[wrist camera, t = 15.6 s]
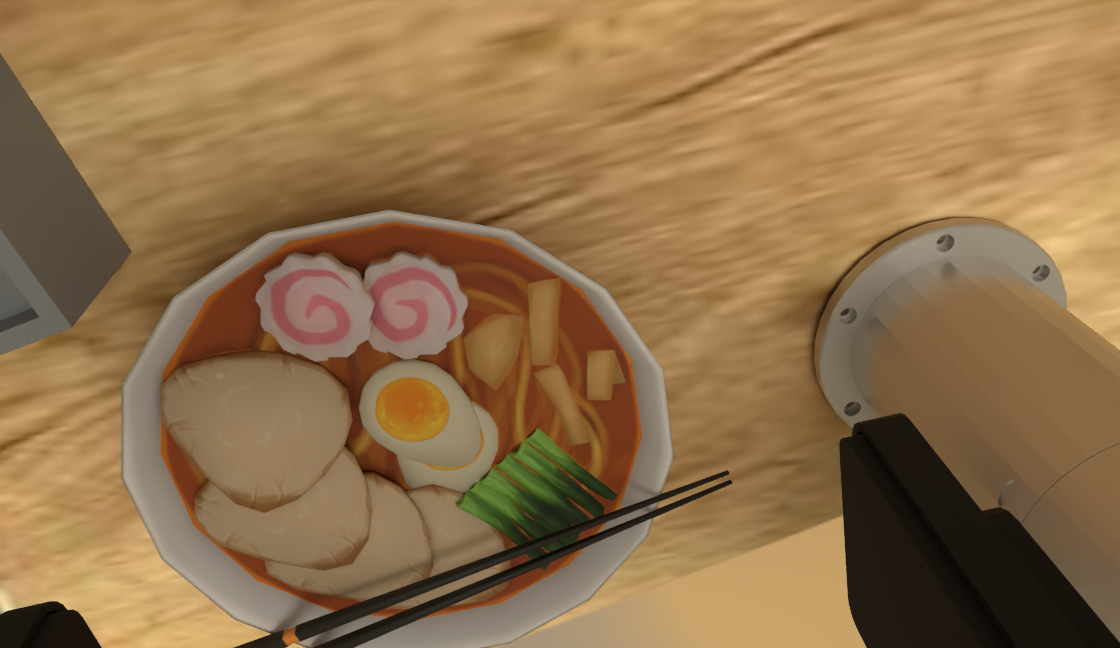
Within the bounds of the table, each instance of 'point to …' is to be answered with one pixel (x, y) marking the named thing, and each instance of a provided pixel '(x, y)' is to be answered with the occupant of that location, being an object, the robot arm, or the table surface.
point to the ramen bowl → (396, 435)
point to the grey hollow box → (45, 227)
